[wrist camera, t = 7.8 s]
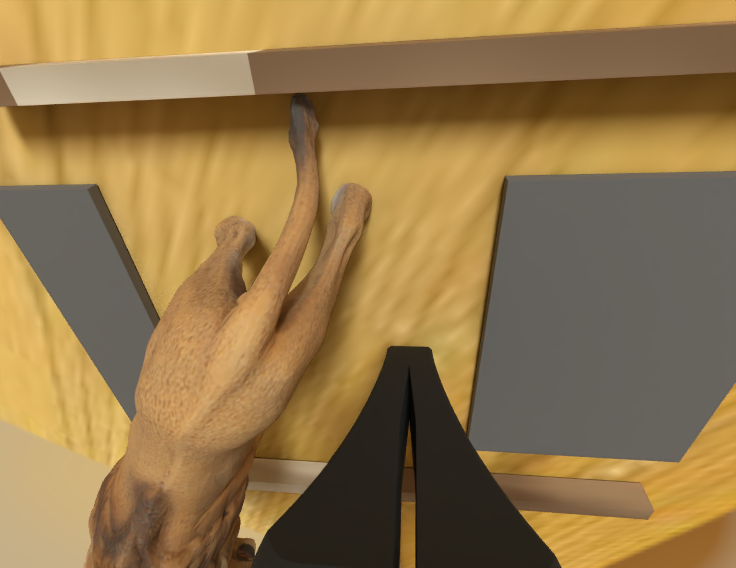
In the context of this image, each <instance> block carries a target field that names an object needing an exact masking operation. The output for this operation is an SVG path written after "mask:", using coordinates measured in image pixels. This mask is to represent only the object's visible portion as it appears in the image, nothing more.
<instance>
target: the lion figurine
mask: <svg viewBox="0 0 736 568" xmlns="http://www.w3.org/2000/svg"><path fill="white" fill-rule="evenodd" d="M290 113H291V122H290V130H289V143H290V146H291V149H292V151H293V154H294V158H295V163H296V170H297V188H296V193H295V197H294V202H293V205H292V208H291V211H290V214H289V217H288V220H287V222H286V224H285V227H284V229H283V232H282V234H281V236H280V238H279V240H278V242H277V244H276V246H275V248H274V249H273V251H272V253H271V254H270V256H269V258H268V259H267V261H266V263H265V264H264V266H263V268H262V269H261V271H260V273H259V274H258V276H257V278H256V280H255V281H254V283H253V285H252V286H251V288H250V289H249V291H248V292H247V291H246V287H245V283H244V281H243V278H242V260H243V258H244V256H245V255H246V254H247V252H248V251H249V250H251V249H252V247H253V246H254V244H255V242H256V238H255V236H256V235H255V227H254V226H253V225H252V224H251V223H250V222H248V221H246V220H244V219H243V218H240V217H237V216H232V217H228V218H226V219H224V220H223V221H221V222H220V224H219V225H218V226H217V227H216V229H215V231H214V232H215V237H216V241H217V244H218V246H219V247H218V248H217V249H216V250H215V251H214V253H213V254H212V255H211V256H210V257H209V258H208V259H207V260H206V261H205V262H204V263H202V264H201V266H200V267H199V268H198V269H197V270H196V271H195V272H194V274H193V275H191V276H190V277H188V278H187V279H186V281H185V282H184V283H183V284H182V285H181V286H180V287H179V288H178V289H177V291H176V293H175V295H174V297H173V299H172V300H171V302H170V304H169V305H168V307H167V309H166V311H165V312H164V314H163V316H162V318H161V319H160V321H159V323H158V325H157V326H156V328H155V330H154V332H153V334H152V335H151V338H150V340H149V343H148V345H147V349H146V353H145V358H144V362H143V366H142V370H141V373H140V377H139V381H138V384H137V387H136V391H135V406H136V411H137V413H136V415H135V417H134V419H133V421H132V423H131V425H130V430H129V439H128V446H127V451H126V454H125V455H124V456H123V457H122V458H121V459H120V460H119V461H118V462H117V463H116V465H115V466H114V467H113V469H112V470H111V472H110V473H109V474H108V475H107V477H106V478H105V479H104V481H103V482H102V485H101V488H100V490H99V492H98V495H97V498H96V501H95V504H94V508H93V509H92V511H91V515H90V518H89V533H90V538H91V545H90V547H89V550H88V553H87V557H86V561H85V564H84V566H83V568H250V567H251V565H252V563H253V560H254V557H255V548H256V544H255V541H254V540H253V539H251V538H237V536H238V533H239V529H240V524H241V523H240V517H239V514H240V512H241V510H242V506H243V502H244V499H245V491H246V489H247V487H248V483H249V478H248V472H249V471H250V468H251V466H252V463H253V460H254V455H255V451H256V448H257V446H258V444H259V442H260V440H261V438H262V436H263V433H264V431H265V429H266V428H268V427H269V426H270V425H272V424H273V423H274V422H275V421H276V420H277V419H278V418H279V416H280V415H281V413H282V412H283V410H284V409H285V407H286V406H287V404H288V402H289V400H290V398H291V397H292V395H293V393H294V391H295V389H296V387H297V385H298V382H299V381H300V379H301V377H302V375H303V373H304V371H305V370H306V368H307V367H308V365H309V363H310V362H311V360H312V359H313V357H314V356H315V355H316V354H317V352H318V351H319V349H320V347H321V345H322V343H323V340H324V337H325V335H326V332H327V327H328V322H329V318H330V315H331V312H332V310H333V307H334V304H335V301H336V298H337V295H338V291H339V288H340V284H341V281H342V277H343V274H344V271H345V268H346V265H347V263H348V260H349V258H350V255H351V253H352V250H353V248H354V246H355V245H356V243H357V241H358V240H359V238H360V237H361V234H362V231H363V226H364V221H365V220H366V219H367V218H368V216H369V214H370V210H371V205H372V196H371V195H370V193H369V192H368V190H366V189H365V188H363V187H362V186H360V185H357V184H353V183H348V184H344V185H342V186H341V187H340V188H339V189H338V190H337V192H336V193H335V195H334V197H333V199H332V202H331V215H332V217H331V220H330V223H329V225H328V228H327V233H326V237H325V241H324V245H323V248H322V250H321V253H320V255H319V258H318V261H317V262H316V264H315V265H314V267H313V268H312V270H311V271H310V272H309V273H308V275H307V276H306V277H305V278H304V279H303V280H302V281H301V282H300V283H299V284H298V285H297V286H296V287H295V288H294V289H293V290H292V291H291V292H290V293H289V294H288V292H289V289H290V287H291V285H292V282H293V280H294V278H295V275H296V273H297V271H298V268H299V266H300V263H301V260H302V258H303V255H304V252H305V249H306V247H307V243H308V240H309V237H310V234H311V231H312V227H313V224H314V221H315V217H316V214H317V209H318V202H319V178H318V164H317V160H316V155H315V140H316V136H317V132H318V128H319V124H318V122H317V120H316V118H315V111H314V106H313V104H312V101H311V100H310V99H309V97H308V96H307V95H305V94H301V93H297V94H295V95H294V96H293V97H292V100H291V106H290ZM287 294H288V295H287Z"/></svg>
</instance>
